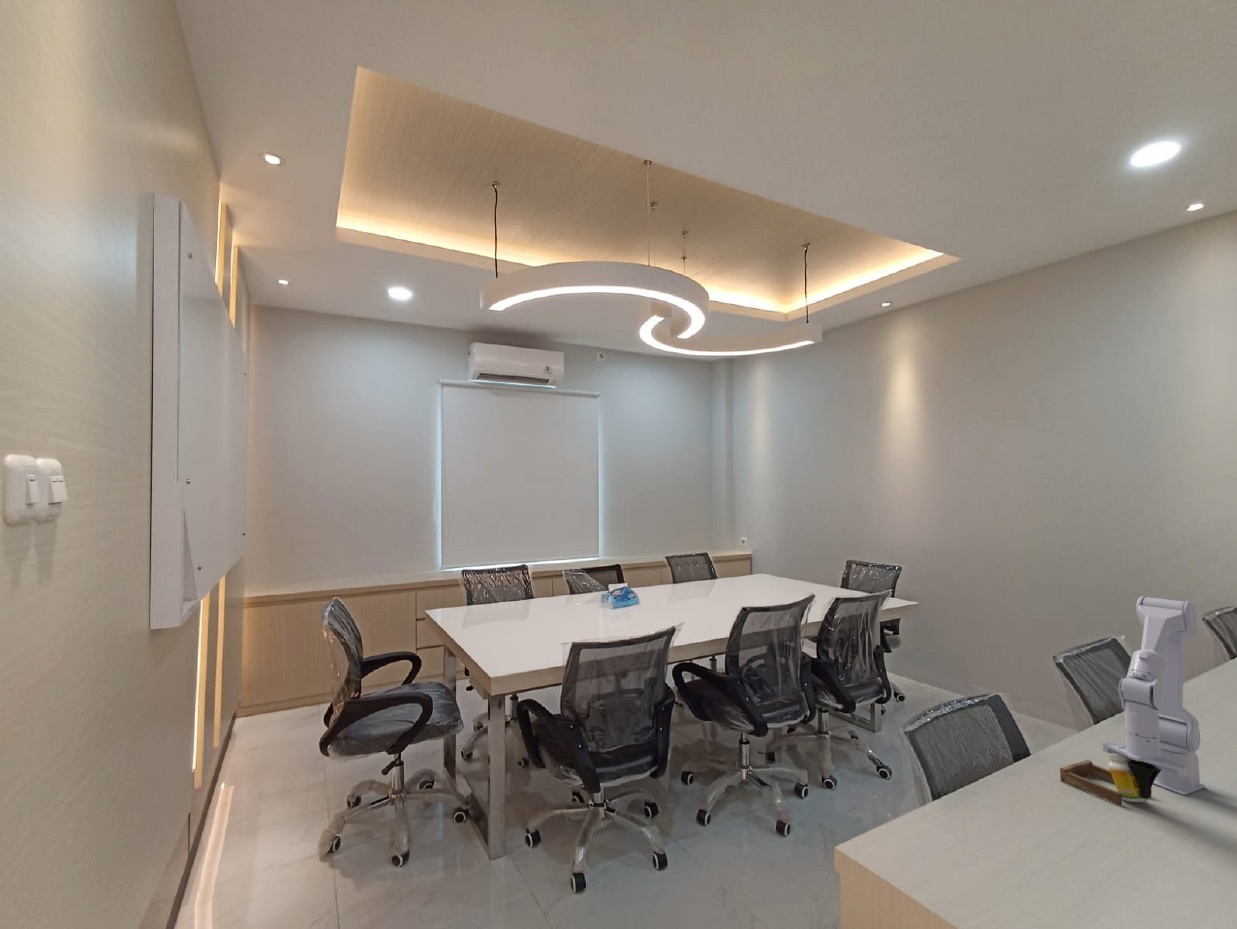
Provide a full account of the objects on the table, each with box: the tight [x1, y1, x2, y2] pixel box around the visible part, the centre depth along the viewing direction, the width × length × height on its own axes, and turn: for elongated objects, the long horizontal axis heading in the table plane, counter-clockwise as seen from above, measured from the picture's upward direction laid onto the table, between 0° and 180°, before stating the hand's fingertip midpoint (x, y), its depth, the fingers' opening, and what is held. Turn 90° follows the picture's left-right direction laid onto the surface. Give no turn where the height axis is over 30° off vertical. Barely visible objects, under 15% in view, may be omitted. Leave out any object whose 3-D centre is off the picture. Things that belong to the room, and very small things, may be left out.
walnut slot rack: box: [1059, 759, 1123, 806], centre depth 135 cm, size 11×12×3 cm
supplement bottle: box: [1107, 752, 1151, 803], centre depth 130 cm, size 5×5×10 cm
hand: (1144, 797), depth 126 cm, fingers closed, pressing on supplement bottle
